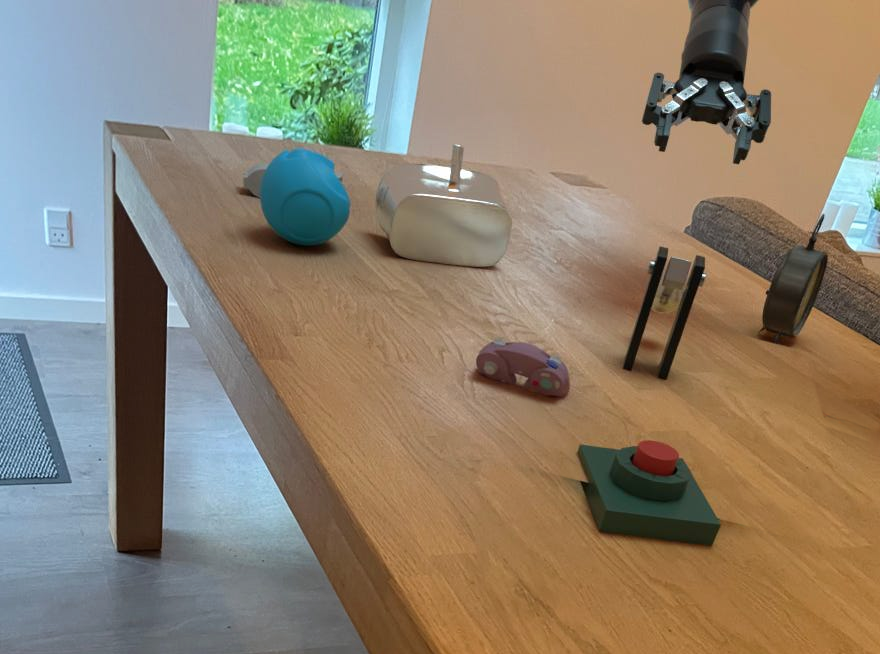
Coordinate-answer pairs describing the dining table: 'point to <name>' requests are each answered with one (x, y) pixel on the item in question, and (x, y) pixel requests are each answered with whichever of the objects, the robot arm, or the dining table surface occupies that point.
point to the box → (645, 499)
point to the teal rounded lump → (303, 197)
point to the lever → (671, 286)
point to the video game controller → (524, 367)
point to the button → (655, 458)
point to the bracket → (681, 317)
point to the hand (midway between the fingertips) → (701, 151)
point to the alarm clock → (794, 289)
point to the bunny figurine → (255, 176)
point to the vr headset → (444, 213)
